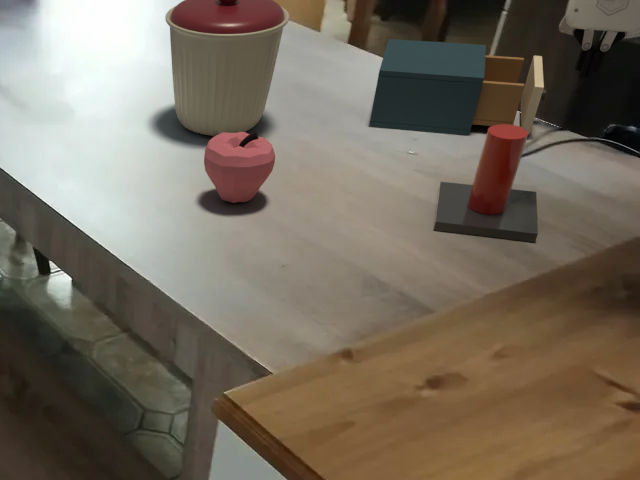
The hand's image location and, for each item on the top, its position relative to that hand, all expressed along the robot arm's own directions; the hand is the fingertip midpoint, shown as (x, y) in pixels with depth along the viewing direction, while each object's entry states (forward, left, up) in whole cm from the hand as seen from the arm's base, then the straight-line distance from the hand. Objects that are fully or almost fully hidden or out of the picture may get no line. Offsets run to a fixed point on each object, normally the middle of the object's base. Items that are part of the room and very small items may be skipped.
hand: (584, 75), depth 136 cm
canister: (+51, +12, -8) cm, 53 cm away
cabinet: (+21, 0, -7) cm, 22 cm away
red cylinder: (+11, +33, -6) cm, 35 cm away
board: (+11, +33, -7) cm, 36 cm away
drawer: (+12, 0, -6) cm, 13 cm away
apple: (+43, +37, -8) cm, 57 cm away
